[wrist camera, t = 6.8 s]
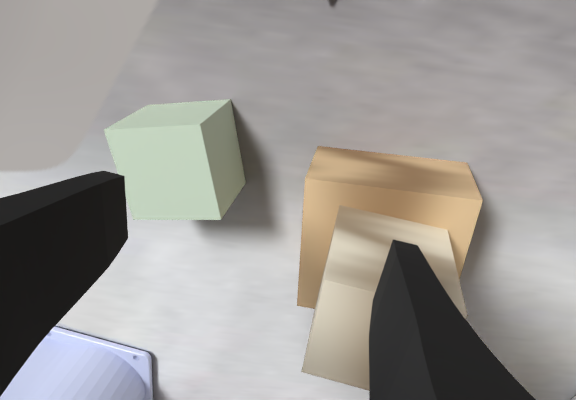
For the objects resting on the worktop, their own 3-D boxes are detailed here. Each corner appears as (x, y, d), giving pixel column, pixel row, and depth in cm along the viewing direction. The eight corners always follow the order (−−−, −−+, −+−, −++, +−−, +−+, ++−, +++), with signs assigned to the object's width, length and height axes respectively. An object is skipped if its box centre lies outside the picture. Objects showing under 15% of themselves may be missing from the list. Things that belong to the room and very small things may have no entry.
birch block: (319, 285, 20) (301, 371, 16) (339, 204, 18) (324, 279, 13) (414, 309, 20) (422, 405, 15) (447, 229, 17) (467, 315, 13)
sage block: (170, 183, 24) (133, 219, 20) (148, 104, 22) (103, 129, 18) (246, 181, 23) (220, 219, 19) (231, 98, 21) (199, 124, 17)
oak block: (309, 258, 24) (296, 305, 21) (318, 144, 21) (305, 178, 17) (435, 277, 23) (443, 331, 20) (466, 160, 20) (482, 200, 16)
